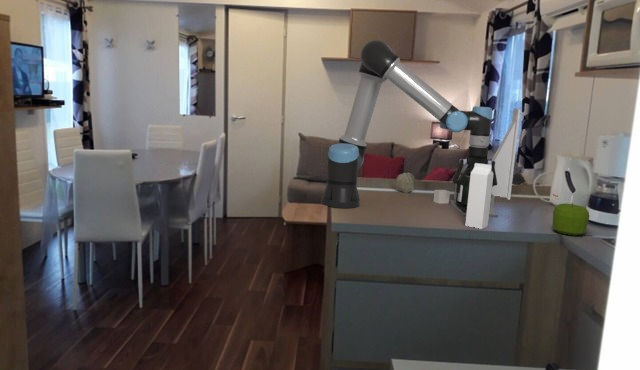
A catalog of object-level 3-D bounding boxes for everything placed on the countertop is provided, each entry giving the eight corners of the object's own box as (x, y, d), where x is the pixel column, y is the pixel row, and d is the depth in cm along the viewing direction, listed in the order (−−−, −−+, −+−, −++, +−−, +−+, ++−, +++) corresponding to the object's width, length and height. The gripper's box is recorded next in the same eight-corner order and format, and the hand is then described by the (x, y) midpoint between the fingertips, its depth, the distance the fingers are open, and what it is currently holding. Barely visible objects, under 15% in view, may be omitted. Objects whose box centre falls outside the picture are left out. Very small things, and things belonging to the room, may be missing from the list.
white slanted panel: (475, 189, 259) (483, 106, 252) (505, 191, 256) (515, 108, 248) (476, 196, 240) (486, 107, 233) (510, 199, 237) (520, 109, 229)
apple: (555, 236, 177) (559, 204, 175) (547, 228, 188) (551, 198, 186) (590, 239, 175) (595, 207, 174) (580, 231, 186) (585, 200, 184)
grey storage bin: (463, 215, 200) (466, 193, 199) (448, 202, 224) (450, 181, 222) (497, 217, 200) (500, 194, 199) (479, 203, 224) (481, 183, 222)
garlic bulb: (413, 197, 243) (422, 178, 240) (403, 196, 236) (413, 176, 234) (397, 187, 249) (406, 168, 246) (387, 186, 242) (397, 167, 240)
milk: (471, 223, 189) (477, 162, 185) (488, 226, 186) (494, 164, 182) (464, 226, 184) (471, 163, 181) (481, 229, 181) (488, 165, 177)
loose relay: (438, 203, 220) (439, 191, 219) (433, 201, 224) (434, 190, 223) (448, 203, 222) (450, 191, 221) (443, 201, 226) (444, 189, 225)
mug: (482, 202, 218) (485, 173, 216) (489, 209, 204) (492, 179, 202) (455, 199, 220) (458, 171, 217) (460, 207, 205) (463, 177, 203)
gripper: (452, 145, 204) (446, 202, 208) (510, 148, 204) (503, 205, 208) (447, 143, 211) (442, 198, 215) (504, 146, 211) (497, 201, 215)
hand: (472, 201), depth 212 cm, fingers closed on mug, 10 cm apart
